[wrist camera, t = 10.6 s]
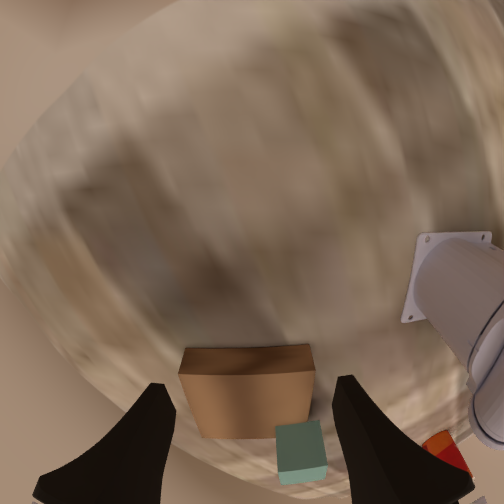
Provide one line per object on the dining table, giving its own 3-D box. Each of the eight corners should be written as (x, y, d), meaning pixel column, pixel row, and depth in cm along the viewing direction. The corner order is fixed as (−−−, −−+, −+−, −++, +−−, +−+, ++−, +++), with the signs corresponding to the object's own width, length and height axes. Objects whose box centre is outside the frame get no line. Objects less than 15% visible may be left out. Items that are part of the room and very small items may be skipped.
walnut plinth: (309, 344, 21) (315, 370, 18) (301, 412, 24) (304, 435, 22) (185, 348, 21) (177, 373, 18) (205, 415, 25) (202, 437, 22)
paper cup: (435, 446, 33) (455, 497, 20) (409, 453, 32) (428, 510, 19) (459, 423, 30) (485, 476, 17) (434, 429, 29) (460, 491, 16)
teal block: (319, 420, 20) (327, 465, 16) (318, 438, 22) (324, 478, 17) (275, 426, 21) (277, 472, 16) (278, 444, 22) (281, 485, 18)
